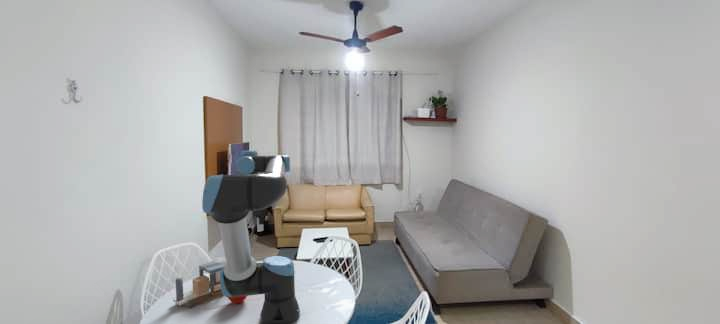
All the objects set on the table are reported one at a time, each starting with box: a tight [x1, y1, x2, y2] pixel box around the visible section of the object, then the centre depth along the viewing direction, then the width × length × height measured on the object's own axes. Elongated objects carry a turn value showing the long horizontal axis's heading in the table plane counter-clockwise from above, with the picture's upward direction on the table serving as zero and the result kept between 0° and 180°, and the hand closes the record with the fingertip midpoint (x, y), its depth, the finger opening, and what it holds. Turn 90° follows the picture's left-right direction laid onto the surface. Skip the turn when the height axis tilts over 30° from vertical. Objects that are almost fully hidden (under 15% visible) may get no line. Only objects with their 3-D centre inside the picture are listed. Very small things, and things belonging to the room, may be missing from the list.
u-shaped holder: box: [172, 274, 210, 306], centre depth 138 cm, size 6×14×10 cm, turn 142°
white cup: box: [209, 256, 227, 282], centre depth 160 cm, size 8×8×10 cm
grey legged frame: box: [183, 261, 224, 309], centre depth 144 cm, size 11×22×13 cm, turn 142°
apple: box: [226, 296, 248, 304], centre depth 137 cm, size 10×10×12 cm
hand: (251, 228), depth 148 cm, fingers open, 13 cm apart
